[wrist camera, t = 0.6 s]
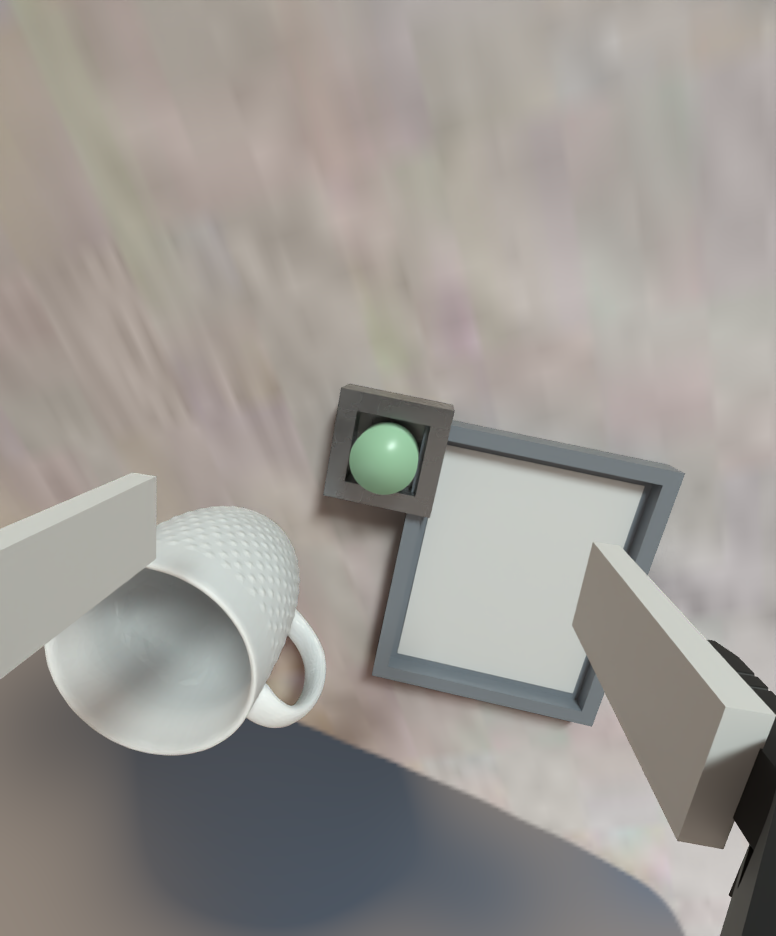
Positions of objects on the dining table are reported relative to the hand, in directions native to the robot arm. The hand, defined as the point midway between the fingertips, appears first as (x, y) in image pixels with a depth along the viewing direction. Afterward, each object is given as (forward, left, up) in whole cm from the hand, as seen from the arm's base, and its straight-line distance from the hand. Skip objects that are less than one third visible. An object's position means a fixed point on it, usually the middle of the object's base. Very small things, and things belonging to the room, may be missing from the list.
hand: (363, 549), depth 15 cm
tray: (+9, -8, -19) cm, 23 cm away
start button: (-1, -1, -16) cm, 16 cm away
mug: (-9, -12, -19) cm, 24 cm away
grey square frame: (-1, -1, -19) cm, 19 cm away
